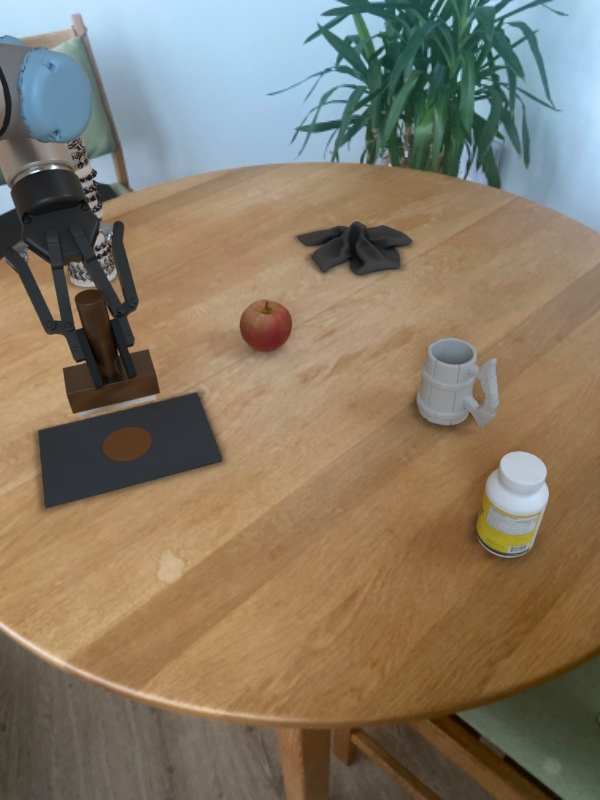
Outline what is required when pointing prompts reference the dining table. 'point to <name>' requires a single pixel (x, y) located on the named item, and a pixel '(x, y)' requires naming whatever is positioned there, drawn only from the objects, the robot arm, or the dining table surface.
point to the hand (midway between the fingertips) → (116, 381)
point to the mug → (456, 384)
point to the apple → (265, 325)
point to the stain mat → (125, 449)
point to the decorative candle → (92, 194)
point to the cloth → (357, 247)
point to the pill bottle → (513, 505)
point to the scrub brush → (106, 365)
